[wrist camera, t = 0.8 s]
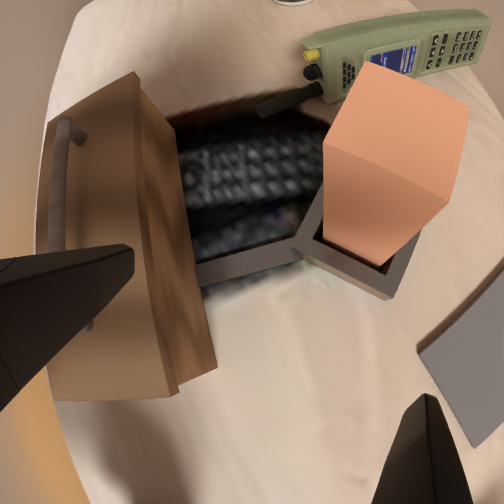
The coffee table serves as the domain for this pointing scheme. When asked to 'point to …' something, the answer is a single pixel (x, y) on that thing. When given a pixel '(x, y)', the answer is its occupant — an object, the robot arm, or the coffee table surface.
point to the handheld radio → (385, 51)
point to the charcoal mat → (473, 363)
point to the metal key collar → (310, 259)
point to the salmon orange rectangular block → (388, 163)
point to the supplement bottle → (292, 2)
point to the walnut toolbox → (132, 234)
